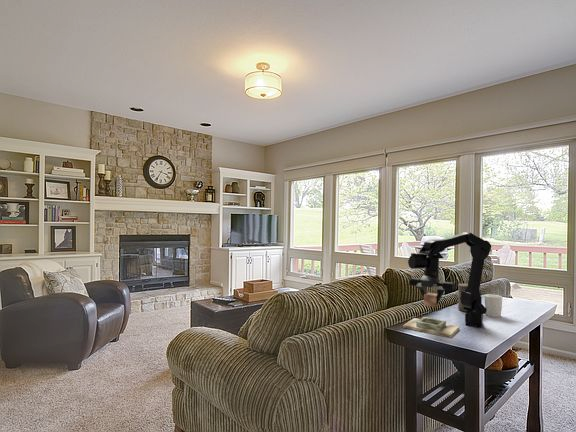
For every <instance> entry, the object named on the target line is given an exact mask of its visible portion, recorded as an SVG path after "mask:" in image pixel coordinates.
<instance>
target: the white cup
mask: <svg viewBox="0 0 576 432" xmlns="http://www.w3.org/2000/svg"><path fill="white" fill-rule="evenodd" d="M484 307H485V308H486V309H487V311H486V314H485V316H487V317H490V318H500V317H502V309H503V296H502V295H499V294H492V293H486V294H484Z"/></svg>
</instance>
